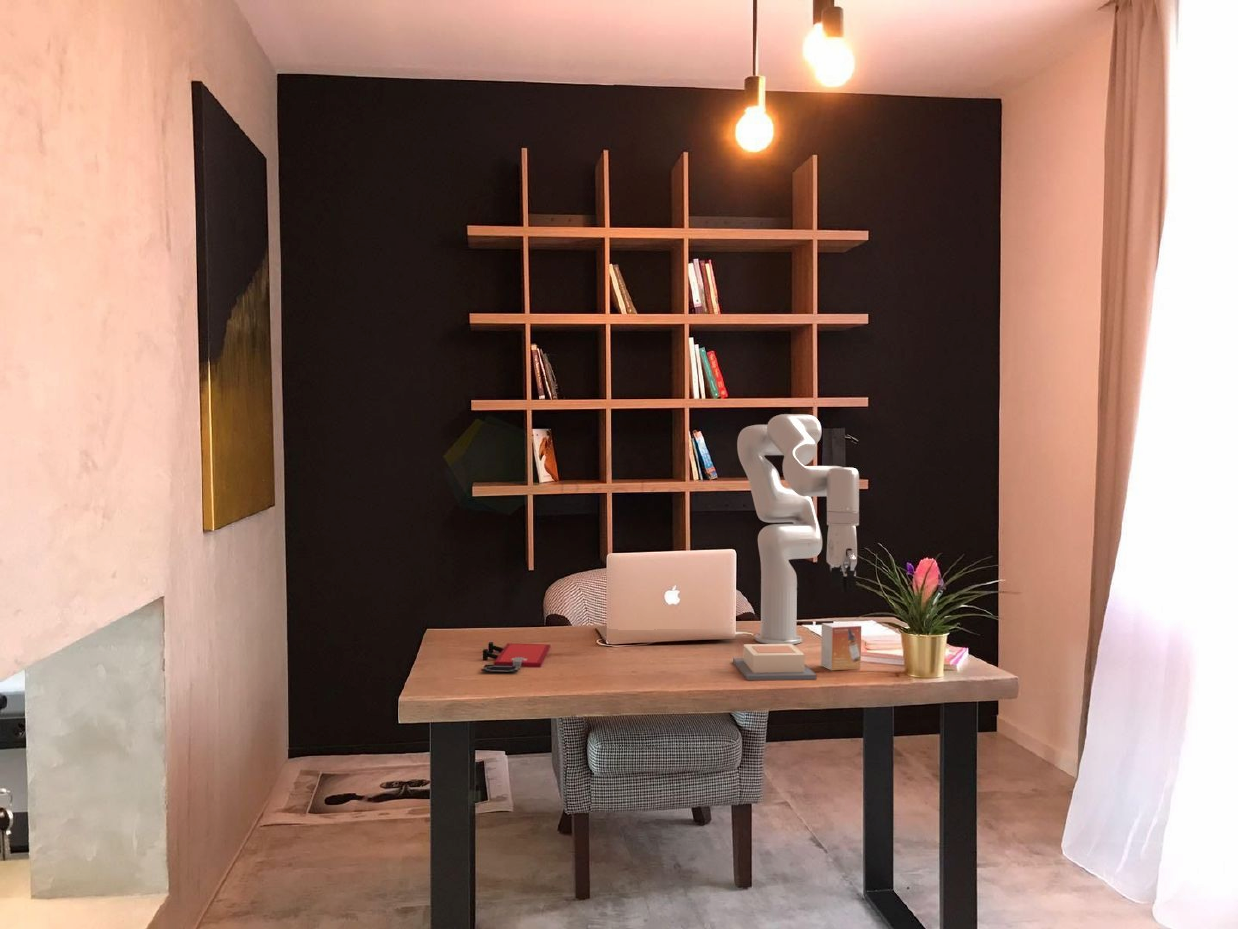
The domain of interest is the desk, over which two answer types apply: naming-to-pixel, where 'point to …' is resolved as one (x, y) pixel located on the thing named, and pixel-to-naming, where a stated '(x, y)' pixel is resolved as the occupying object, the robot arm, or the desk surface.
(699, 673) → the desk surface
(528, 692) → the desk surface
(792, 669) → the build board
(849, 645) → the small box
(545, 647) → the red board with handle
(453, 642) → the desk surface
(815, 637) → the desk surface
